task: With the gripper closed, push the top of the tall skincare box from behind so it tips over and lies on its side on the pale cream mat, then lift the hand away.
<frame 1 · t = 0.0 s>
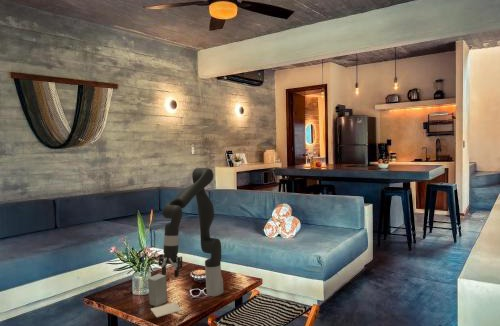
hand: (169, 276, 195), 22 cm above the table, tool pointing down, fingers open, 8 cm apart
skincare box: (158, 303, 217), on the table
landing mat: (166, 309, 208), on the table
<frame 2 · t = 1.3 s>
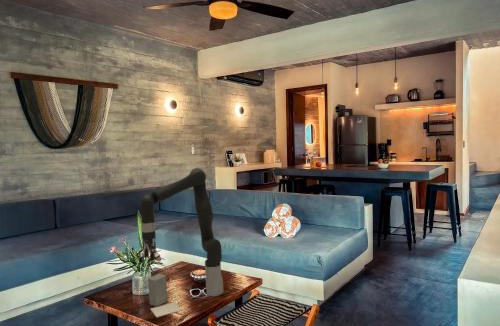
hand: (149, 258, 217), 25 cm above the table, tool pointing down, fingers open, 8 cm apart
nothing on the table moved.
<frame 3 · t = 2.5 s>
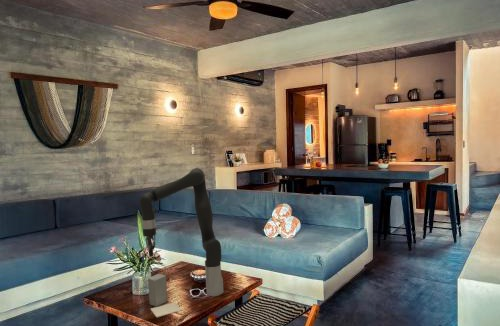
hand: (151, 256, 224), 25 cm above the table, tool pointing down, fingers closed
nothing on the table moved.
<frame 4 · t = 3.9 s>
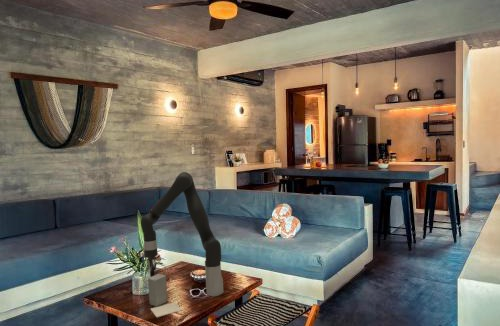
hand: (152, 276, 225), 13 cm above the table, tool pointing down, fingers closed
nothing on the table moved.
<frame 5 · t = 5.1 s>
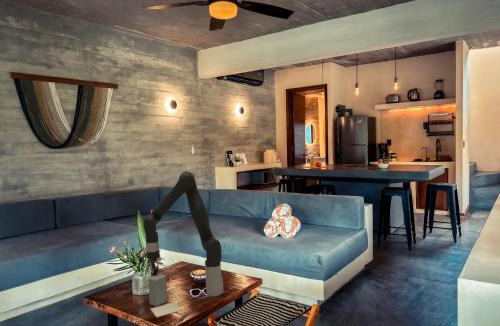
hand: (154, 279, 221), 12 cm above the table, tool pointing down, fingers closed
skincare box: (158, 303, 217), on the table, touching gripper
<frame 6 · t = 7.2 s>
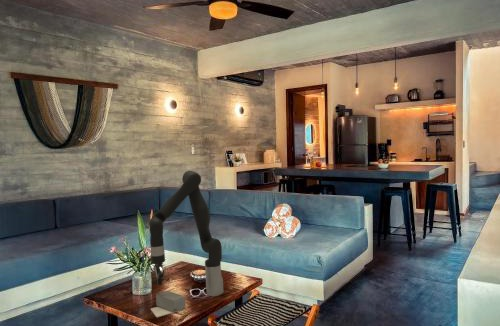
hand: (159, 284, 212), 12 cm above the table, tool pointing down, fingers closed
skincare box: (161, 298, 215), point 3 cm above the table, touching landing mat
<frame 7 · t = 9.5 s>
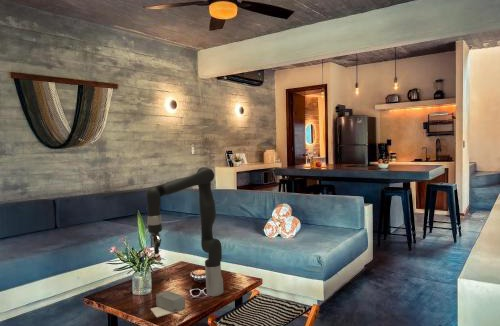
hand: (156, 253, 214), 29 cm above the table, tool pointing down, fingers closed
nothing on the table moved.
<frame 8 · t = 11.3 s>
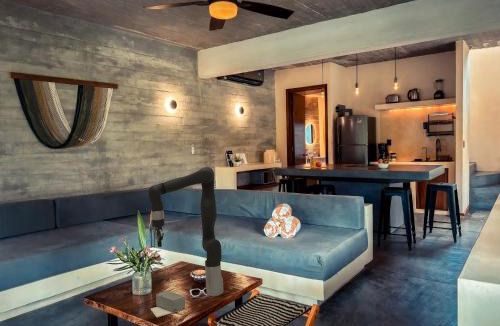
hand: (159, 246, 228), 29 cm above the table, tool pointing down, fingers closed
nothing on the table moved.
at the end: skincare box tilted 87°; skincare box inside the target area (4.3 cm from its centre), point 3.3 cm above the table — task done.
